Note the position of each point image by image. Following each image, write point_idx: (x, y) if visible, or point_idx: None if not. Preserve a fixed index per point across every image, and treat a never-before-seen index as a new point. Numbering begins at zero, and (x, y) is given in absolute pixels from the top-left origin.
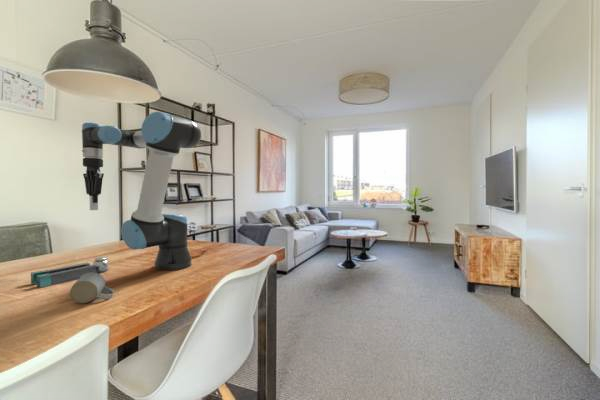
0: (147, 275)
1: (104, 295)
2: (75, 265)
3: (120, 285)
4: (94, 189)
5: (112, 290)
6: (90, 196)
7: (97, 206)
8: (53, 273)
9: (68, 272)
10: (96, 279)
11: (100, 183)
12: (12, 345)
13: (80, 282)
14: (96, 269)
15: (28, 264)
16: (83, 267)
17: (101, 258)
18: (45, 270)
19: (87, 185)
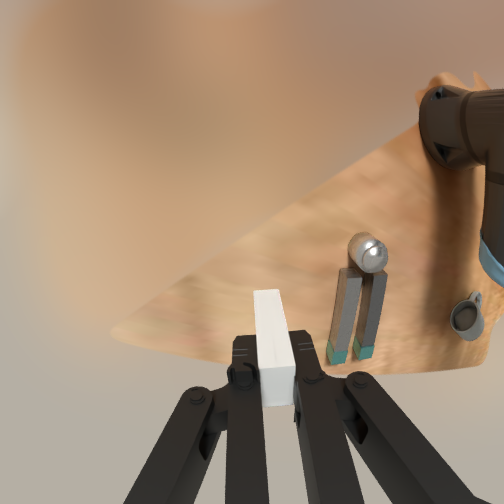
0: (459, 207)
1: (480, 305)
2: (351, 303)
3: (460, 265)
4: (362, 442)
5: (478, 293)
6: (279, 401)
7: (281, 305)
8: (367, 340)
9: (378, 320)
10: (482, 320)
11: (433, 463)
12: (469, 364)
13: (477, 337)
14: None
15: (137, 317)
16: (376, 295)
17: (381, 260)
18: (337, 347)
19: (196, 493)
